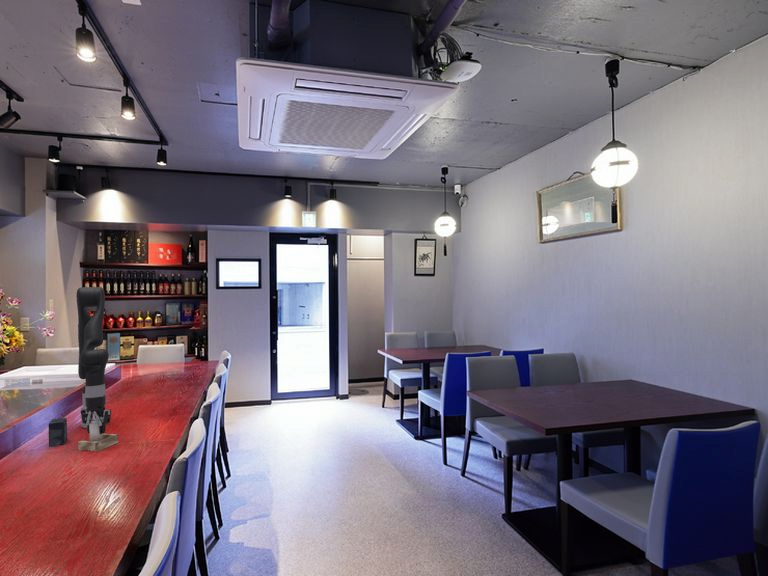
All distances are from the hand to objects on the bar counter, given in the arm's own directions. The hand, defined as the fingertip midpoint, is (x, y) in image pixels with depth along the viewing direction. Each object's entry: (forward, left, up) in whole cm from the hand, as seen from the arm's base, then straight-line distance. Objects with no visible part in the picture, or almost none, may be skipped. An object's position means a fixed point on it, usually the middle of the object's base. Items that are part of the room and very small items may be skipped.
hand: (96, 433), depth 196 cm
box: (-21, +1, -6) cm, 22 cm away
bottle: (0, 0, -4) cm, 4 cm away
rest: (+1, 0, -6) cm, 6 cm away
